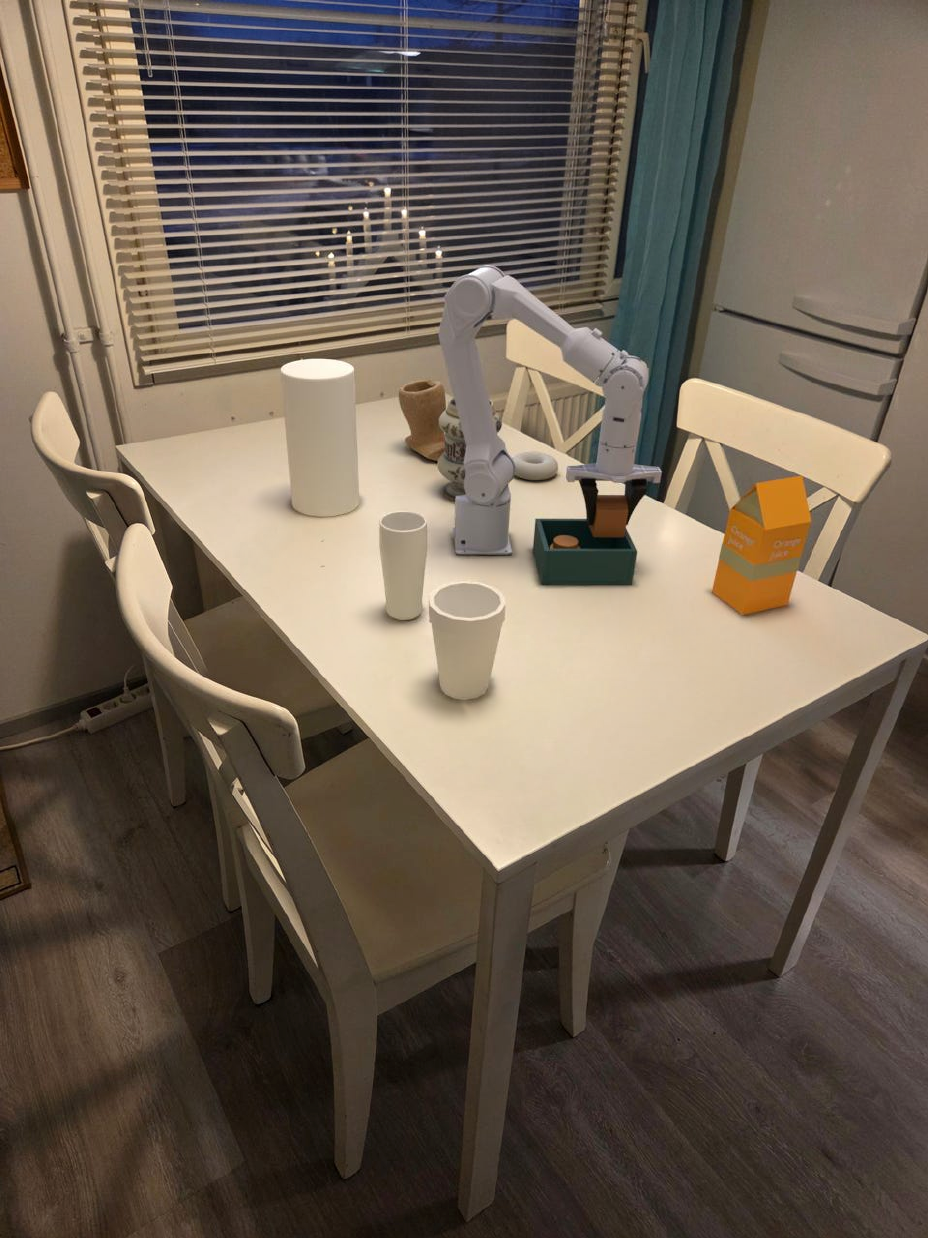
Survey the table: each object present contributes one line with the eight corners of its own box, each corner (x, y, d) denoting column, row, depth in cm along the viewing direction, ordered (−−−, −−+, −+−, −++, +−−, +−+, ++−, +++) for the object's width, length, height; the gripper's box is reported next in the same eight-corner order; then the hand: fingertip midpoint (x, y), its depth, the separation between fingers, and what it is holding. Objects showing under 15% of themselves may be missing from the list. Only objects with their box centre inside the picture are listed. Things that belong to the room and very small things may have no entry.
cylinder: (279, 508, 152) (265, 372, 138) (314, 484, 161) (305, 354, 148) (338, 521, 148) (331, 382, 134) (371, 496, 158) (366, 364, 144)
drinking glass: (392, 628, 119) (390, 535, 111) (374, 606, 124) (371, 515, 116) (434, 618, 122) (435, 526, 113) (415, 596, 127) (415, 507, 118)
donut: (505, 480, 166) (554, 485, 165) (506, 464, 165) (556, 468, 163) (512, 462, 175) (560, 466, 173) (513, 447, 173) (561, 451, 171)
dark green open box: (541, 584, 131) (544, 550, 128) (532, 550, 141) (535, 518, 137) (632, 584, 132) (637, 551, 128) (617, 551, 142) (621, 518, 138)
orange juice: (710, 591, 131) (737, 473, 120) (755, 581, 134) (784, 465, 123) (743, 616, 125) (774, 493, 114) (788, 605, 128) (822, 485, 117)
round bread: (550, 573, 133) (552, 547, 131) (546, 558, 137) (548, 533, 135) (581, 573, 133) (584, 547, 131) (575, 558, 138) (578, 533, 135)
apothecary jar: (486, 477, 167) (491, 389, 157) (508, 501, 157) (513, 409, 148) (429, 483, 164) (430, 393, 154) (447, 508, 154) (449, 414, 144)
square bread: (593, 537, 131) (597, 502, 128) (587, 523, 135) (592, 489, 132) (624, 537, 131) (629, 503, 128) (617, 523, 136) (622, 489, 132)
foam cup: (426, 664, 112) (427, 581, 105) (494, 663, 112) (499, 580, 105) (430, 708, 104) (431, 621, 97) (503, 706, 104) (509, 620, 97)
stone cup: (390, 444, 181) (389, 376, 173) (439, 437, 186) (440, 370, 178) (419, 469, 170) (419, 397, 162) (470, 460, 174) (473, 390, 166)
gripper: (575, 450, 122) (566, 533, 129) (671, 451, 122) (657, 533, 130) (567, 433, 127) (559, 513, 135) (659, 435, 128) (646, 514, 136)
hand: (606, 522), depth 133 cm, fingers closed on square bread, 5 cm apart
